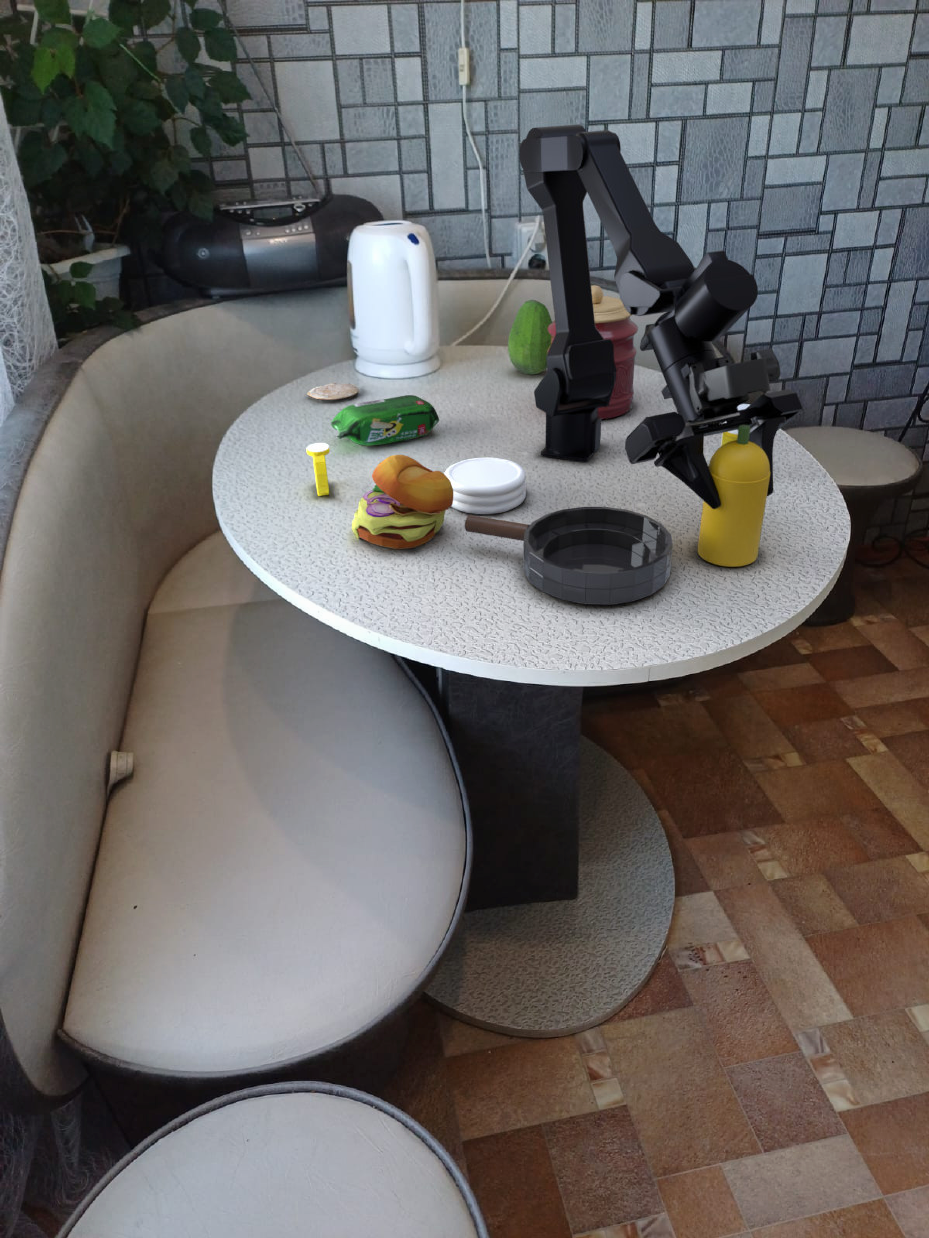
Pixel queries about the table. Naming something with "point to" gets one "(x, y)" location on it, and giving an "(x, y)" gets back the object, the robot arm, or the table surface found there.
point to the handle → (495, 527)
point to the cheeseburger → (403, 504)
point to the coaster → (486, 485)
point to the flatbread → (333, 391)
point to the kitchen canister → (621, 332)
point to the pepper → (735, 503)
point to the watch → (320, 466)
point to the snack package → (386, 420)
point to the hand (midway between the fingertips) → (743, 501)
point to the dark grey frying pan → (597, 555)
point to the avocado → (530, 338)
